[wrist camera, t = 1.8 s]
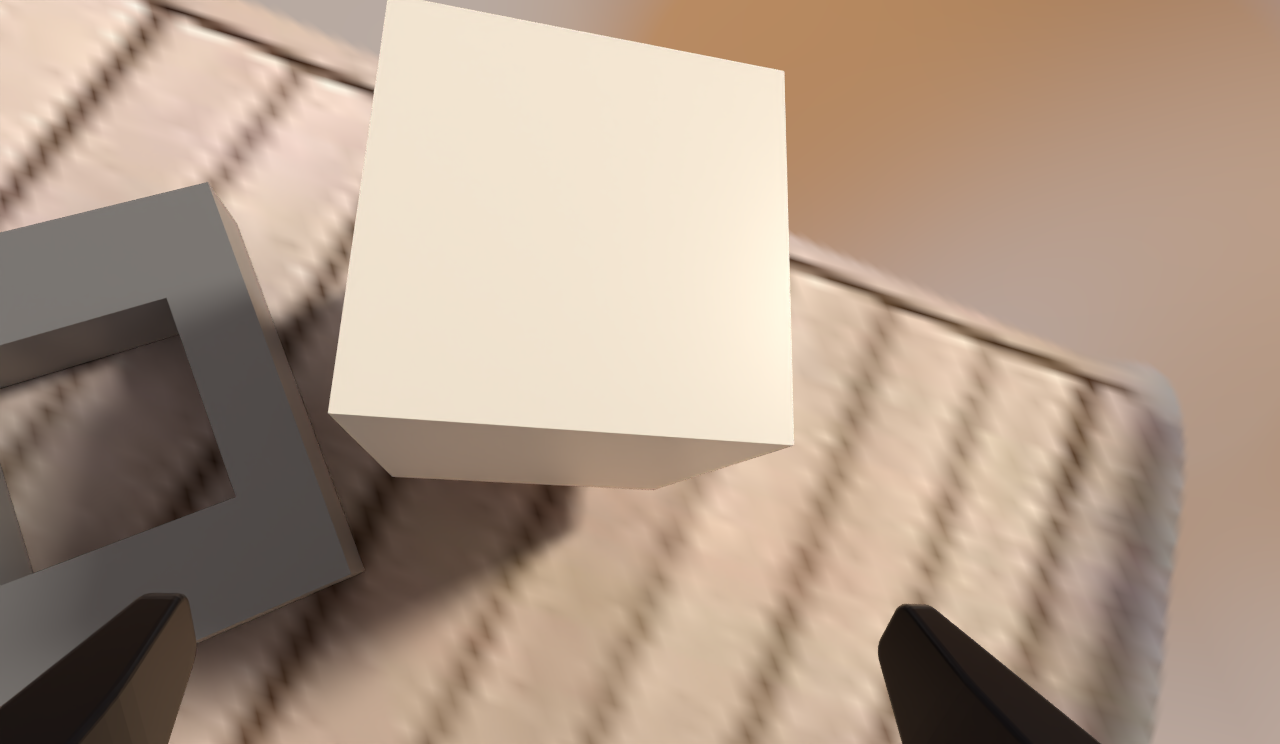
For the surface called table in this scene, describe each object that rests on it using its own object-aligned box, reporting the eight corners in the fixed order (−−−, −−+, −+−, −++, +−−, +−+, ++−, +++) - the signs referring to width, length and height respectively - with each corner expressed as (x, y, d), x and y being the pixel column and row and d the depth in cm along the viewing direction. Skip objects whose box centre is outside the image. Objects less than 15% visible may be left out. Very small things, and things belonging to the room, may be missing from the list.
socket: (365, 570, 19) (351, 573, 17) (-15, 734, 17) (-94, 765, 14) (236, 223, 21) (207, 182, 19) (-133, 320, 18) (-222, 286, 16)
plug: (635, 495, 22) (793, 445, 11) (399, 484, 20) (328, 413, 10) (641, 285, 24) (784, 70, 13) (425, 260, 22) (388, -7, 11)
